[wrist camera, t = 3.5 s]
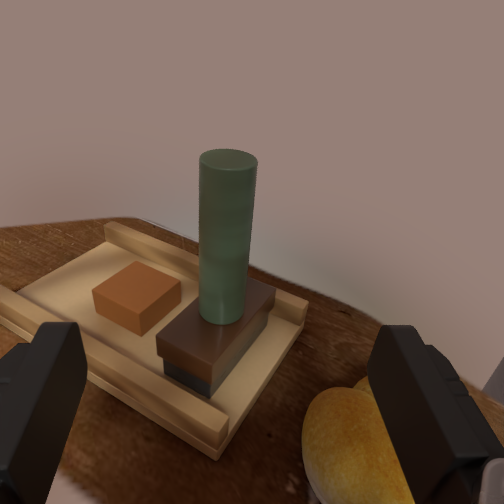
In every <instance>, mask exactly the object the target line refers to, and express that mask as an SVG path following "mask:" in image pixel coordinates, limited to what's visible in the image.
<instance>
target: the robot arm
mask: <svg viewBox="0 0 504 504" xmlns="http://www.w3.org/2000/svg"><path fill="white" fill-rule="evenodd" d="M87 372H88V364H87V358H86V354H85V350H84V346H83V341H82V337H81V333H80V328H79V325H78V323H77V322H43V323H42V324H41V325H40V327H39V328H38V330H37V332H36V334H35V336H34V338H33V339H32V341H31V343H18V344H17V345H16V346H15V347H13V348H12V349H11V350H10V351H9V352H8V353H7V354H6V355H4V356H3V357H2V358H1V359H0V504H45V503H46V500H47V497H48V494H49V491H50V488H51V485H52V482H53V479H54V476H55V474H56V471H57V468H58V465H59V462H60V459H61V456H62V453H63V450H64V447H65V444H66V441H67V438H68V435H69V432H70V429H71V426H72V423H73V420H74V417H75V414H76V411H77V408H78V406H79V403H80V400H81V397H82V394H83V391H84V388H85V384H86V380H87ZM367 376H368V381H369V385H370V388H371V390H372V393H373V395H374V398H375V401H376V403H377V406H378V408H379V411H380V414H381V416H382V419H383V421H384V424H385V427H386V429H387V432H388V434H389V437H390V440H391V442H392V445H393V447H394V450H395V453H396V455H397V458H398V460H399V463H400V466H401V468H402V471H403V473H404V476H405V479H406V481H407V484H408V486H409V489H410V492H411V494H412V497H413V500H414V502H415V504H504V448H503V446H502V445H501V443H500V441H499V440H498V438H497V437H496V435H495V433H494V432H493V430H492V429H491V427H490V425H489V424H488V422H487V421H486V419H485V417H484V416H483V414H482V413H481V411H480V409H479V408H478V406H477V405H476V403H475V401H474V400H473V398H472V397H471V396H469V394H468V393H469V392H468V390H467V389H466V387H465V385H464V384H463V382H462V381H460V380H459V378H460V377H459V376H458V374H457V373H456V371H455V369H454V368H453V366H452V365H451V363H450V361H449V360H448V359H447V358H446V357H445V356H443V354H441V353H440V352H439V351H438V350H437V349H436V348H435V347H434V346H432V345H425V344H424V342H423V341H422V339H421V337H420V336H419V334H418V332H417V330H416V329H415V328H414V327H413V326H411V325H383V326H382V327H381V328H380V331H379V333H378V336H377V339H376V341H375V344H374V347H373V350H372V352H371V355H370V358H369V360H368V365H367Z"/></svg>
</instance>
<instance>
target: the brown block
mask: <svg viewBox="0 0 504 504" xmlns="http://www.w3.org/2000/svg"><path fill="white" fill-rule="evenodd" d="M92 295H93V300H94V305H95V311H96V313H98V314H99V315H101V316H103V317H105V318H107V319H109V320H111V321H112V322H114V323H116V324H118V325H120V326H122V327H124V328H125V329H127V330H129V331H131V332H133V333H135V334H136V335H138V336H140V337H142V336H143V335H145V334H146V333H147V332H148V331H149V330H150V329H151V328H153V327H154V326H155V325H156V324H157V323H158V322H159V321H161V320H162V319H163V318H164V317H165V316H166V315H167V314H169V313H170V312H171V311H172V310H173V309H174V308H175V307H177V306H178V305H179V304H180V303H181V281H180V280H179V279H177V278H174V277H172V276H170V275H168V274H165V273H163V272H161V271H159V270H156V269H154V268H152V267H150V266H147V265H145V264H143V263H141V262H139V261H134V262H133V263H131V264H130V265H128V266H127V267H125V268H124V269H122V270H121V271H119V272H118V273H116V274H114V275H113V276H111V277H110V278H108V279H107V280H105V281H104V282H102V283H101V284H99V285H98V286H96V287H95V288H93V289H92Z"/></svg>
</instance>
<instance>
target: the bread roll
mask: <svg viewBox="0 0 504 504" xmlns="http://www.w3.org/2000/svg"><path fill="white" fill-rule="evenodd" d="M302 457H303V462H304V466H305V471H306V475H307V477H308V480H309V482H310V485H311V487H312V489H313V491H314V493H315V495H316V496H317V498H318V499H319V501H320V502H321V503H322V504H415V502H414V500H413V497H412V494H411V492H410V489H409V486H408V484H407V481H406V479H405V476H404V473H403V471H402V468H401V466H400V463H399V460H398V458H397V455H396V453H395V450H394V447H393V445H392V442H391V440H390V437H389V434H388V432H387V429H386V427H385V424H384V421H383V419H382V416H381V414H380V411H379V408H378V406H377V403H376V401H375V398H374V395H373V393H372V390H371V388H370V385H369V381H368V376H366V377H364V378H363V379H361V380H360V381H358V382H357V384H356V385H355V386H354V387H353V389H352V388H345V387H334V388H330V389H327V390H325V391H323V392H321V393H320V394H318V395H317V396H316V397H315V398H314V399H313V401H312V402H311V403H310V405H309V407H308V409H307V412H306V415H305V418H304V422H303V428H302Z"/></svg>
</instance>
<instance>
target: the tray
mask: <svg viewBox="0 0 504 504" xmlns="http://www.w3.org/2000/svg"><path fill="white" fill-rule="evenodd" d="M104 232H105V239H106V242H105V243H103V244H101V245H99V246H97V247H96V248H94V249H92V250H90V251H88V252H87V253H85V254H83V255H81V256H79V257H78V258H76V259H74V260H72V261H71V262H69V263H67V264H65V265H63V266H62V267H60V268H58V269H56V270H54V271H53V272H51V273H49V274H47V275H46V276H44V277H42V278H40V279H38V280H37V281H35V282H33V283H31V284H29V285H28V286H26V287H24V288H22V289H20V290H19V291H17V292H13V291H11V290H10V289H8V288H6V287H4V286H3V285H1V284H0V324H1V325H3V326H5V327H6V328H8V329H9V330H11V331H12V332H14V333H16V334H17V335H19V336H20V337H22V338H23V339H25V340H27V341H28V342H30V343H31V341H32V339H33V338H34V336H35V334H36V332H37V330H38V328H39V327H40V325H41V324H42V323H43V322H77V323H78V325H79V328H80V333H81V337H82V341H83V346H84V350H85V354H86V358H87V364H88V372H87V379H88V380H89V381H91V382H92V383H94V384H96V385H97V386H99V387H100V388H102V389H103V390H105V391H107V392H108V393H110V394H111V395H113V396H114V397H116V398H118V399H119V400H121V401H122V402H124V403H125V404H127V405H129V406H130V407H132V408H133V409H135V410H136V411H138V412H140V413H141V414H143V415H144V416H146V417H147V418H149V419H150V420H152V421H154V422H155V423H157V424H158V425H160V426H161V427H163V428H165V429H166V430H168V431H169V432H171V433H172V434H174V435H176V436H177V437H179V438H180V439H182V440H183V441H185V442H187V443H188V444H190V445H191V446H193V447H194V448H196V449H198V450H199V451H201V452H202V453H204V454H205V455H207V456H209V457H210V458H212V459H213V460H215V461H217V460H218V459H219V458H220V456H221V454H222V453H223V451H224V450H225V448H226V447H227V445H228V444H229V442H230V441H231V439H232V437H233V436H234V434H235V433H236V431H237V430H238V428H239V427H240V425H241V424H242V422H243V421H244V419H245V417H246V416H247V414H248V413H249V411H250V410H251V408H252V407H253V405H254V404H255V402H256V400H257V399H258V397H259V396H260V394H261V393H262V391H263V390H264V388H265V387H266V385H267V384H268V382H269V380H270V379H271V377H272V376H273V374H274V373H275V371H276V370H277V368H278V367H279V365H280V363H281V362H282V360H283V359H284V357H285V356H286V354H287V353H288V351H289V350H290V348H291V347H292V345H293V343H294V342H295V340H296V339H297V337H298V336H299V334H300V333H301V331H302V330H303V327H304V322H305V317H306V313H307V308H308V303H309V301H307V300H304V299H302V298H299V297H297V296H295V295H292V294H290V293H287V292H285V291H282V290H280V289H277V288H276V296H275V302H274V307H273V309H272V310H271V311H270V312H269V315H268V322H267V326H266V327H265V329H264V330H263V331H262V333H261V334H260V335H259V336H258V338H257V339H256V340H255V342H254V343H253V344H252V345H251V347H250V348H249V349H248V351H247V352H246V353H245V355H244V356H243V357H242V358H241V360H240V361H239V362H238V364H237V365H236V366H235V367H234V369H233V370H232V371H231V373H230V374H229V375H228V377H227V378H226V379H225V380H224V382H223V383H222V384H221V386H220V387H219V388H218V389H217V391H216V392H215V393H214V395H213V396H212V397H211V398H210V399H207V398H206V397H204V396H202V395H200V394H199V393H197V392H195V391H193V390H192V389H190V388H188V387H186V386H185V385H183V384H181V383H179V382H178V381H176V380H174V379H172V378H171V377H169V376H167V375H165V374H164V369H163V358H161V357H159V356H158V355H157V350H156V338H155V336H156V334H157V333H158V332H159V331H160V330H162V329H163V328H164V327H165V326H166V325H167V324H168V323H169V322H170V321H171V320H173V319H174V318H175V317H176V316H177V315H178V314H179V313H180V312H181V311H182V310H184V309H185V308H186V307H187V306H188V305H189V304H190V303H191V302H192V301H194V300H195V299H196V298H197V297H198V296H199V256H197V255H194V254H192V253H190V252H187V251H185V250H182V249H180V248H177V247H175V246H172V245H170V244H168V243H165V242H163V241H160V240H158V239H155V238H153V237H150V236H148V235H146V234H143V233H141V232H138V231H136V230H133V229H131V228H128V227H126V226H124V225H121V224H119V223H116V222H114V221H111V222H109V223H107V224H105V225H104ZM134 261H139V262H141V263H143V264H145V265H147V266H150V267H152V268H154V269H156V270H159V271H161V272H163V273H165V274H168V275H170V276H172V277H174V278H177V279H179V280H180V281H181V303H180V304H179V305H178V306H177V307H175V308H174V309H173V310H172V311H171V312H170V313H169V314H167V315H166V316H165V317H164V318H163V319H162V320H161V321H159V322H158V323H157V324H156V325H155V326H154V327H153V328H151V329H150V330H149V331H148V332H147V333H146V334H145V335H143V336H142V337H140V336H138V335H136V334H135V333H133V332H131V331H129V330H127V329H125V328H124V327H122V326H120V325H118V324H116V323H114V322H112V321H111V320H109V319H107V318H105V317H103V316H101V315H99V314H98V313H96V311H95V305H94V300H93V295H92V289H93V288H95V287H96V286H98V285H99V284H101V283H102V282H104V281H105V280H107V279H108V278H110V277H111V276H113V275H114V274H116V273H118V272H119V271H121V270H122V269H124V268H125V267H127V266H128V265H130V264H131V263H133V262H134ZM250 278H251V277H250ZM252 279H253V278H252ZM257 281H258V280H257ZM262 283H263V282H262ZM267 285H268V284H267ZM272 287H273V286H272ZM274 288H275V287H274Z"/></svg>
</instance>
